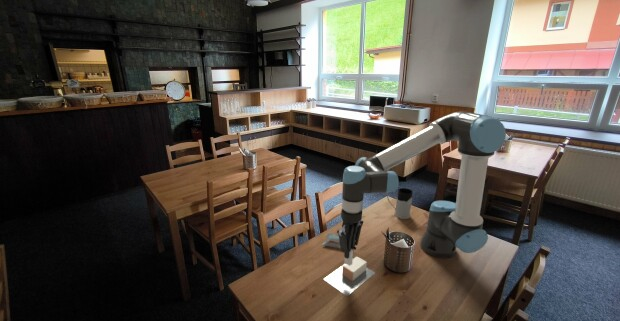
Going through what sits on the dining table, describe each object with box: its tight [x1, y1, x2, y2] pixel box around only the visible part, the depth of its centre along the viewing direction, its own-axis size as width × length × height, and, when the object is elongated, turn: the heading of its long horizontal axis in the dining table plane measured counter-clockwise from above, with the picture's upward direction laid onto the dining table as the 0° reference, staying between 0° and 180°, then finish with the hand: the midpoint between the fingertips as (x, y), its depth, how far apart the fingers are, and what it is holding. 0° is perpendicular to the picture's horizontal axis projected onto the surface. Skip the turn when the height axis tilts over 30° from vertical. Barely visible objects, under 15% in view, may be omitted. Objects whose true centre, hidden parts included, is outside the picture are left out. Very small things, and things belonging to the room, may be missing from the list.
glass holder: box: [386, 187, 413, 220], centre depth 162 cm, size 9×14×15 cm, turn 59°
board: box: [323, 263, 376, 297], centre depth 114 cm, size 18×12×1 cm, turn 134°
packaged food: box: [321, 232, 341, 250], centre depth 134 cm, size 9×12×5 cm
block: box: [342, 256, 368, 281], centre depth 115 cm, size 4×5×9 cm
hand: (348, 263), depth 110 cm, fingers closed
